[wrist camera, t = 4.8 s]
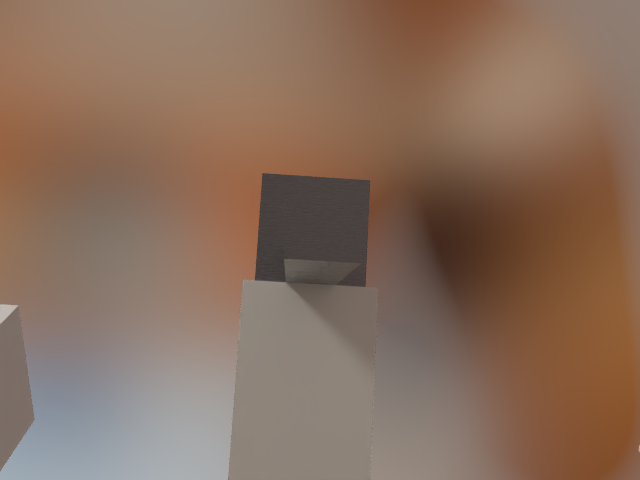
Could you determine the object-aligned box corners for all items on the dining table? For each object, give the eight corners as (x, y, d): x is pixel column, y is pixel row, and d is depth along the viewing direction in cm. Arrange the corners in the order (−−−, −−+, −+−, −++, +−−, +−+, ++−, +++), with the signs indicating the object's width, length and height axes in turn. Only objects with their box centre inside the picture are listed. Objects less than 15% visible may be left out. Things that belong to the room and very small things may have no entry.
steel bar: (234, 255, 17) (247, 87, 17) (261, 288, 32) (267, 198, 33) (410, 266, 17) (415, 99, 17) (352, 293, 32) (356, 204, 33)
